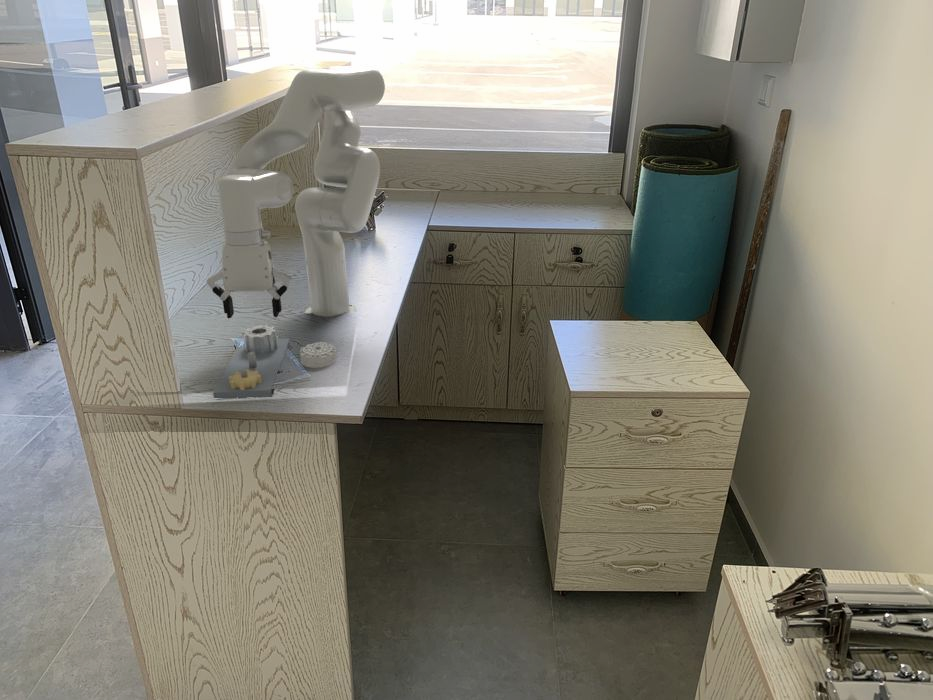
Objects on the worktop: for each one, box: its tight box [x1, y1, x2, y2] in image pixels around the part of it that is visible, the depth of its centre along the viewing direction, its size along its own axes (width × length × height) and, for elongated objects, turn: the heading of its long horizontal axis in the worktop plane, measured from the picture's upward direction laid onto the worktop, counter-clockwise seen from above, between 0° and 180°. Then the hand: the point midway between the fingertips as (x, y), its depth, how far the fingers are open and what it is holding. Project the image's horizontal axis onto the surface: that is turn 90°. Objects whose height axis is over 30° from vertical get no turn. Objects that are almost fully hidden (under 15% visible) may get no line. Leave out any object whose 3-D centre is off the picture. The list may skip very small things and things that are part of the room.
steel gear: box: [241, 324, 278, 355], centre depth 152 cm, size 7×7×4 cm
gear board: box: [212, 338, 291, 399], centre depth 145 cm, size 25×11×4 cm, turn 5°
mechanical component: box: [299, 341, 339, 369], centre depth 147 cm, size 10×4×10 cm
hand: (253, 315), depth 149 cm, fingers open, 9 cm apart
